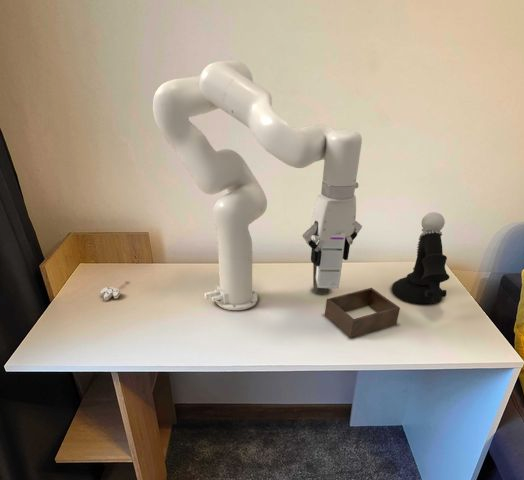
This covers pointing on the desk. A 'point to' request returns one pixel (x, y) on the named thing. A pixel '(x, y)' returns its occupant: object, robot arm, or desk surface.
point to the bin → (365, 324)
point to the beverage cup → (316, 289)
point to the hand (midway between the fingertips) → (329, 260)
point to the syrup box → (331, 262)
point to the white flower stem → (110, 293)
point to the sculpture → (425, 266)
